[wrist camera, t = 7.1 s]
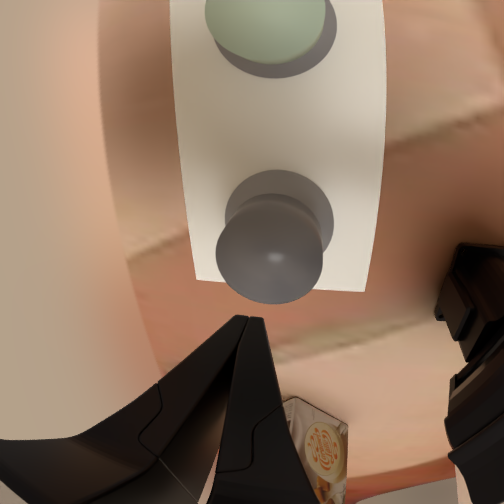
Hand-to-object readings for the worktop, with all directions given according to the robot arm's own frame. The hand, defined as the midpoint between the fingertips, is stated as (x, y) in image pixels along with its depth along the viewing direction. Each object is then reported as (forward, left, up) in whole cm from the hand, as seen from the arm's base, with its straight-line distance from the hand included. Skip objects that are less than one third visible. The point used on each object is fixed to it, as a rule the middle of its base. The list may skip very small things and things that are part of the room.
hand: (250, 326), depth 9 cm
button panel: (0, -10, -11) cm, 15 cm away
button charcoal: (0, 0, -6) cm, 6 cm away
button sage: (0, -10, -7) cm, 12 cm away
